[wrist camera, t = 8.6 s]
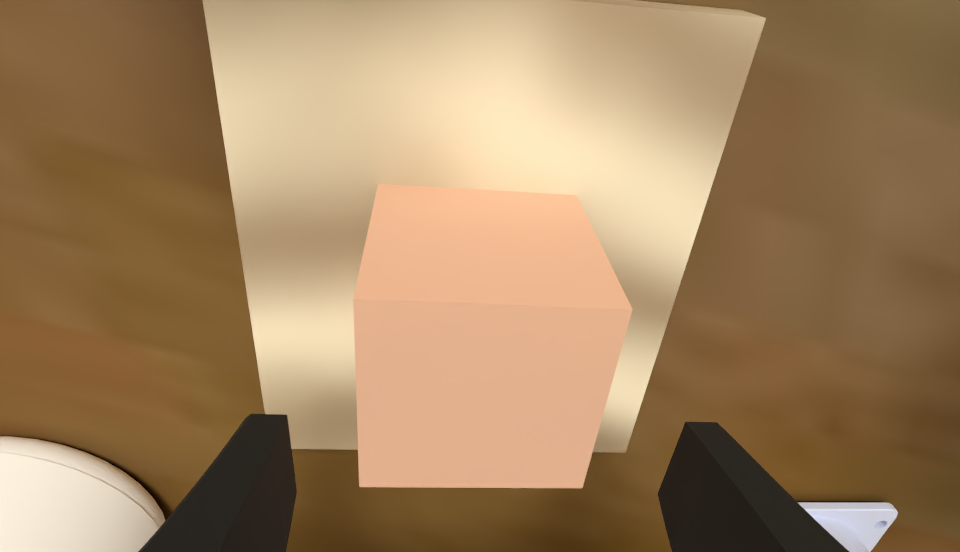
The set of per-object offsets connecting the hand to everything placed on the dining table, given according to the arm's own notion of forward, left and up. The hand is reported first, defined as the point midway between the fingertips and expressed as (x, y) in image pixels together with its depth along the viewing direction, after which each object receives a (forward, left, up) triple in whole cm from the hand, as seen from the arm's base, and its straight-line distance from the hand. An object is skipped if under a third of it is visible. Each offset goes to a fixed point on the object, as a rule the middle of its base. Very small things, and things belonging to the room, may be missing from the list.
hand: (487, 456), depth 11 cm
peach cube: (0, 0, -6) cm, 6 cm away
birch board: (0, 0, -7) cm, 7 cm away
